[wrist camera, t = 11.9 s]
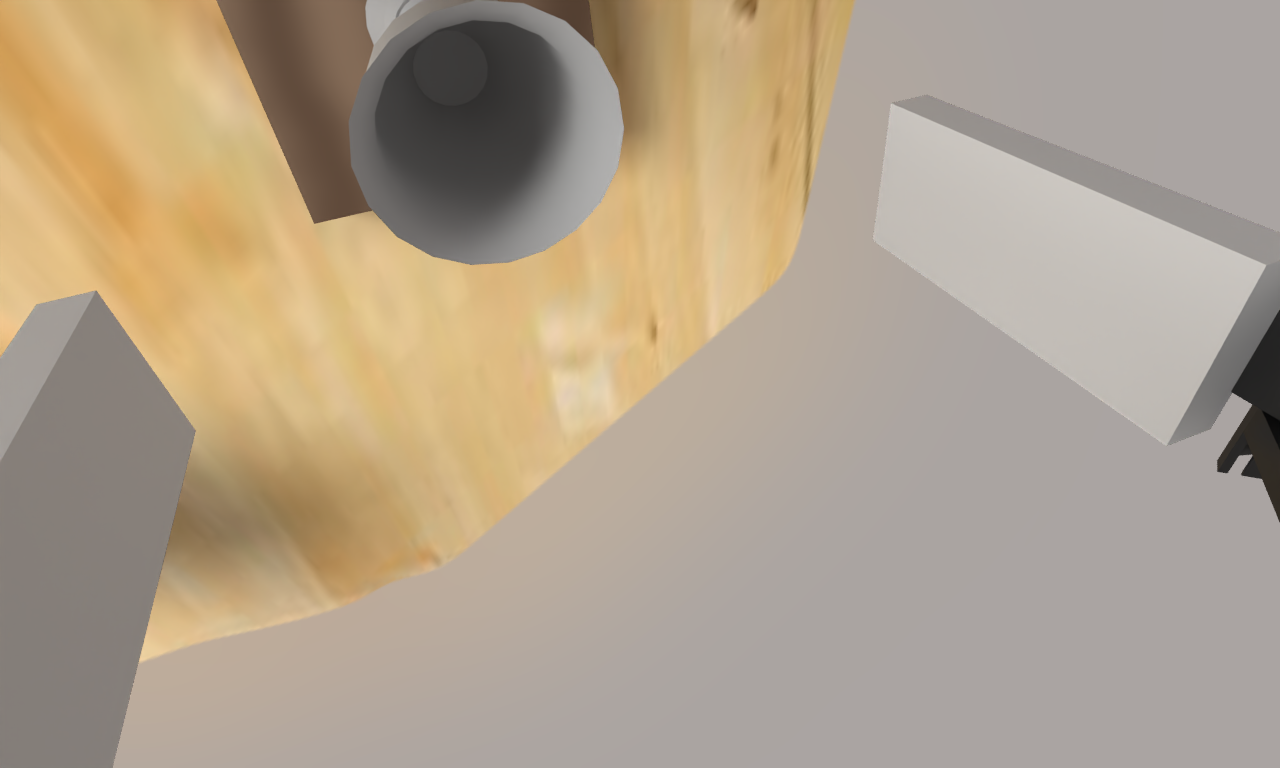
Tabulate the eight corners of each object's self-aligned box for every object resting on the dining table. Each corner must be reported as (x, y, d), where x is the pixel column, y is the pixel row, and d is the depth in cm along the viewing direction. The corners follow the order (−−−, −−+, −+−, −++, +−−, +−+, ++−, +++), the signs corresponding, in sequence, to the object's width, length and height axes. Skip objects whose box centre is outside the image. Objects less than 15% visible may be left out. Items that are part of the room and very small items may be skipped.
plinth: (315, 202, 37) (314, 223, 35) (154, -175, 27) (138, -179, 25) (593, 139, 40) (608, 155, 38) (542, -218, 30) (558, -226, 28)
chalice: (461, -95, 29) (571, -53, 16) (526, 62, 34) (653, 197, 21) (305, -25, 29) (284, 78, 16) (391, 125, 33) (433, 304, 20)
